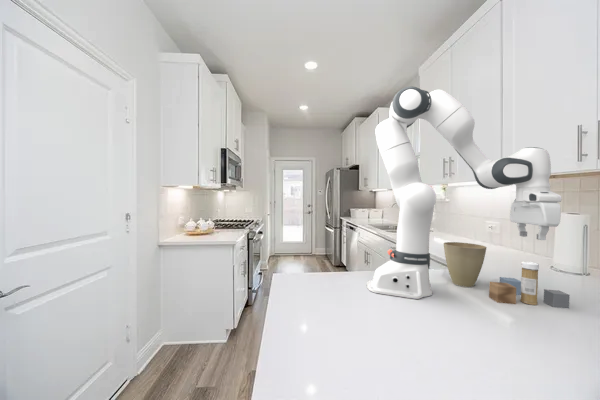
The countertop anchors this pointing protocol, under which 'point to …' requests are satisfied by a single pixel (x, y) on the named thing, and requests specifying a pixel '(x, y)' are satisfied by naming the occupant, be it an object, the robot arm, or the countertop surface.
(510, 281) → the slate blue block
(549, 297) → the charcoal block
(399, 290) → the robot arm
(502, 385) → the countertop surface
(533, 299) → the sprinkles bottle
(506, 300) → the walnut block
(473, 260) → the plant pot
